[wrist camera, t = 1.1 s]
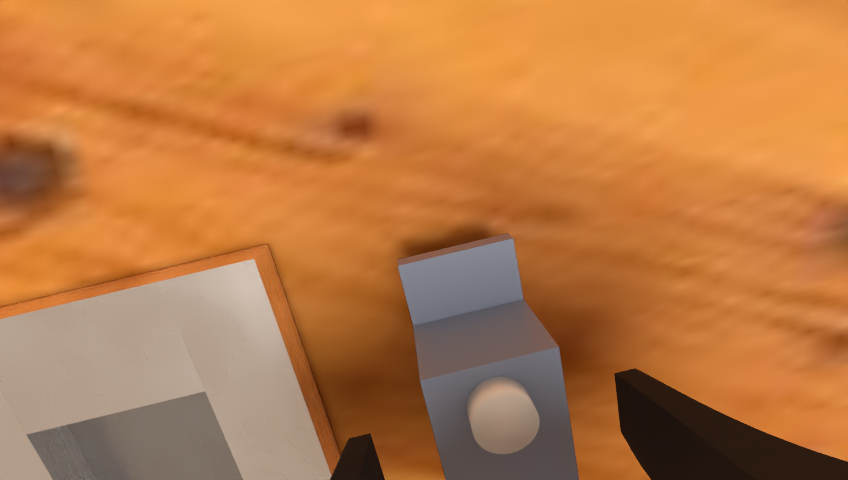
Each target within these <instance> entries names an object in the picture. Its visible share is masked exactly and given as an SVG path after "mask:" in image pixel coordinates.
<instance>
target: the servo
mask: <svg viewBox="0 0 848 480" xmlns="http://www.w3.org/2000/svg"><path fill="white" fill-rule="evenodd" d="M397 262H398V269H399V273H400V277H401V281H402V284H403V288H404V292H405V296H406V300H407V304H408V308H409V312H410V316H411V320H412V323H413V329H414V337H415V345H416V354H417V362H418V370H419V378H420V383H421V387H422V391H423V395H424V399H425V402H426V406H427V410H428V414H429V418H430V421H431V425H432V429H433V433H434V437H435V440H436V444H437V448H438V452H439V456H440V459H441V463H442V467H443V471H444V475H445V478H446V480H579V476H578V469H577V463H576V456H575V449H574V443H573V436H572V430H571V423H570V416H569V410H568V403H567V397H566V390H565V383H564V377H563V370H562V364H561V357H560V350H559V346H558V345H557V343H556V342H555V341H554V339H553V338H552V337H551V335H550V334H549V333H548V331H547V330H546V329H545V327H544V326H543V325H542V323H541V322H540V320H539V319H538V318H537V316H536V315H535V314H534V312H533V311H532V310H531V308H530V307H529V306H528V304H527V303H526V302H525V300H524V298H523V293H522V287H521V281H520V275H519V269H518V263H517V258H516V252H515V246H514V240H513V238H512V237H511V236H510V235H509V234H508V233H506V234H502V235H498V236H494V237H490V238H486V239H481V240H477V241H473V242H469V243H465V244H460V245H456V246H452V247H448V248H444V249H440V250H435V251H431V252H427V253H423V254H419V255H414V256H410V257H406V258H402V259H398V260H397Z"/></svg>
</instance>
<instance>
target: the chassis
mask: <svg viewBox="0 0 848 480" xmlns="http://www.w3.org/2000/svg"><path fill="white" fill-rule="evenodd" d="M340 457H341V456H340V453H339V450H338V447H337V444H336V441H335V438H334V435H333V432H332V429H331V427H330V424H329V421H328V418H327V415H326V412H325V409H324V406H323V403H322V400H321V397H320V395H319V392H318V389H317V386H316V383H315V380H314V377H313V374H312V371H311V368H310V365H309V363H308V360H307V357H306V354H305V351H304V348H303V345H302V342H301V339H300V336H299V333H298V331H297V328H296V325H295V322H294V319H293V316H292V313H291V310H290V307H289V304H288V301H287V299H286V296H285V293H284V290H283V287H282V284H281V281H280V278H279V275H278V272H277V269H276V267H275V264H274V261H273V258H272V255H271V252H270V249H269V246H268V244H266V245H262V246H257V247H253V248H249V249H245V250H240V251H236V252H232V253H228V254H224V255H219V256H215V257H211V258H207V259H203V260H198V261H194V262H190V263H186V264H182V265H177V266H173V267H169V268H165V269H160V270H156V271H152V272H148V273H144V274H139V275H135V276H131V277H127V278H123V279H118V280H114V281H110V282H106V283H102V284H97V285H93V286H89V287H85V288H80V289H76V290H72V291H68V292H64V293H59V294H55V295H51V296H47V297H43V298H38V299H34V300H30V301H26V302H22V303H17V304H13V305H9V306H5V307H0V480H330V478H331V476H332V474H333V472H334V469H335V467H336V465H337V463H338V461H339V459H340Z"/></svg>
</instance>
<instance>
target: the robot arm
mask: <svg viewBox="0 0 848 480" xmlns="http://www.w3.org/2000/svg"><path fill="white" fill-rule="evenodd" d="M615 382H616V391H617V401H618V410H619V419H620V428H621V432H622V434H623V436H624V438H625V439H626V441H627V443H628V445H629V446H630V448H631V450H632V451H633V453H634V455H635V456H636V458H637V460H638V461H639V463H640V465H641V466H642V467H643V469H644V470H645V472H646V473H647V474H648V476H649V477H650V478H651V480H848V462H846V461H843V460H840V459H837V458H834V457H831V456H828V455H825V454H821V453H818V452H816V451H813V450H810V449H807V448H804V447H801V446H798V445H796V444H793V443H791V442H788V441H785V440H783V439H780V438H778V437H775V436H772V435H770V434H767V433H765V432H762V431H760V430H758V429H755V428H753V427H751V426H748V425H746V424H744V423H742V422H740V421H737V420H735V419H733V418H731V417H729V416H726V415H724V414H722V413H720V412H718V411H716V410H714V409H712V408H710V407H708V406H706V405H704V404H702V403H700V402H698V401H696V400H694V399H692V398H690V397H688V396H686V395H684V394H682V393H680V392H679V391H677V390H675V389H673V388H671V387H669V386H667V385H665V384H664V383H662V382H660V381H658V380H656V379H654V378H653V377H651V376H649V375H647V374H645V373H643V372H641V371H639V370H637V369H631V370H627V371H623V372H619V373H615ZM330 480H385V479H384V476H383V472H382V469H381V466H380V463H379V460H378V457H377V453H376V450H375V447H374V444H373V441H372V438H371V434H366V435H362V436H358V437H354V438H350V439H349V440H348V442H347V443H346V445H345V448H344V450H343V452H342V454H341V457H340V459H339V461H338V463H337V465H336V467H335V469H334V472H333V474H332V476H331V478H330Z"/></svg>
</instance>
